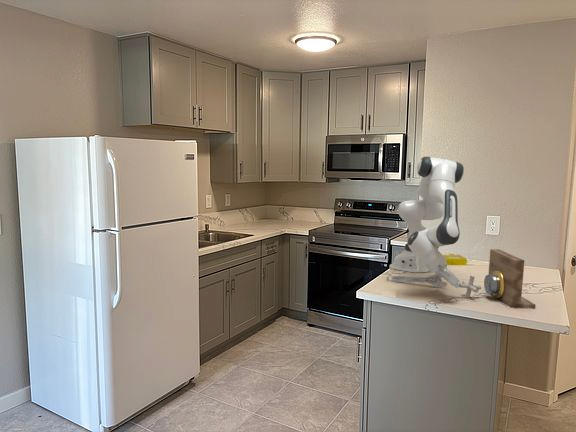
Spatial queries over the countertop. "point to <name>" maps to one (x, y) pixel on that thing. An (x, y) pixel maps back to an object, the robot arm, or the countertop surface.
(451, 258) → the element tile
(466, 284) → the pipe connector
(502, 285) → the door knob
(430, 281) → the wrench
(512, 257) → the board
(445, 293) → the countertop surface
